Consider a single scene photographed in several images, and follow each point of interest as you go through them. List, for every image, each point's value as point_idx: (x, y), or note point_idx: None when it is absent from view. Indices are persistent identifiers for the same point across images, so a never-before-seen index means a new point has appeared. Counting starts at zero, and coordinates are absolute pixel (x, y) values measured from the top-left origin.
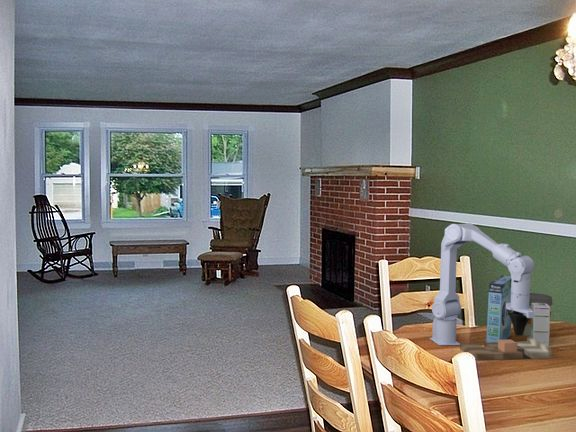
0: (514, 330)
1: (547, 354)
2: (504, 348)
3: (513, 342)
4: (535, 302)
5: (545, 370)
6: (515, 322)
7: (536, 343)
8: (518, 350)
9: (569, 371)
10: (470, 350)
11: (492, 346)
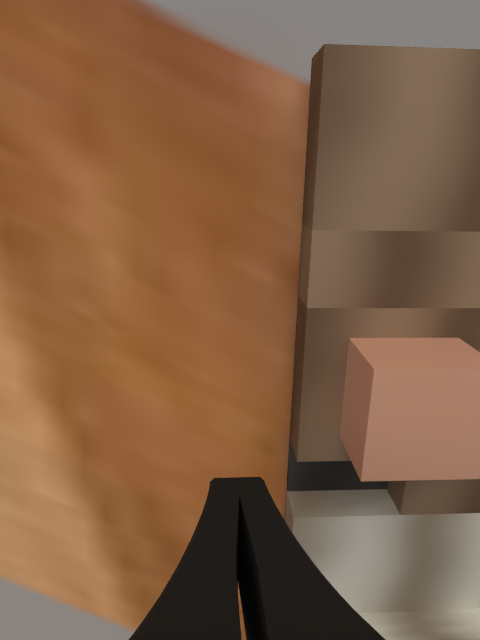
0: (252, 507)
1: None
2: (358, 350)
3: (381, 457)
4: None
5: (32, 456)
6: (177, 614)
7: (447, 628)
8: None
9: (16, 574)
10: (478, 50)
11: None
